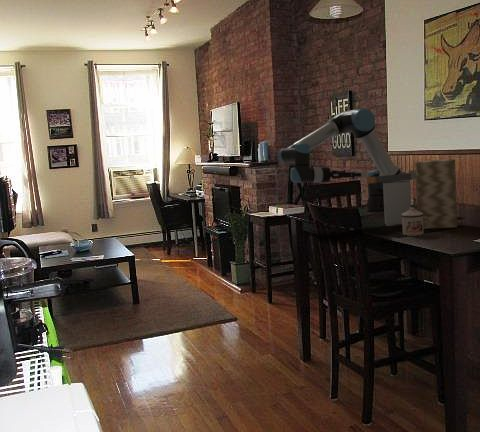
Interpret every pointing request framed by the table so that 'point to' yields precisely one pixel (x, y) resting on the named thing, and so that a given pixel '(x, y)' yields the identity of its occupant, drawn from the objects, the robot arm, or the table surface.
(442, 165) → the wood grain block
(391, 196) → the block
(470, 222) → the table surface
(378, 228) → the table surface
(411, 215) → the teacup with lid
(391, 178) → the brown bar
